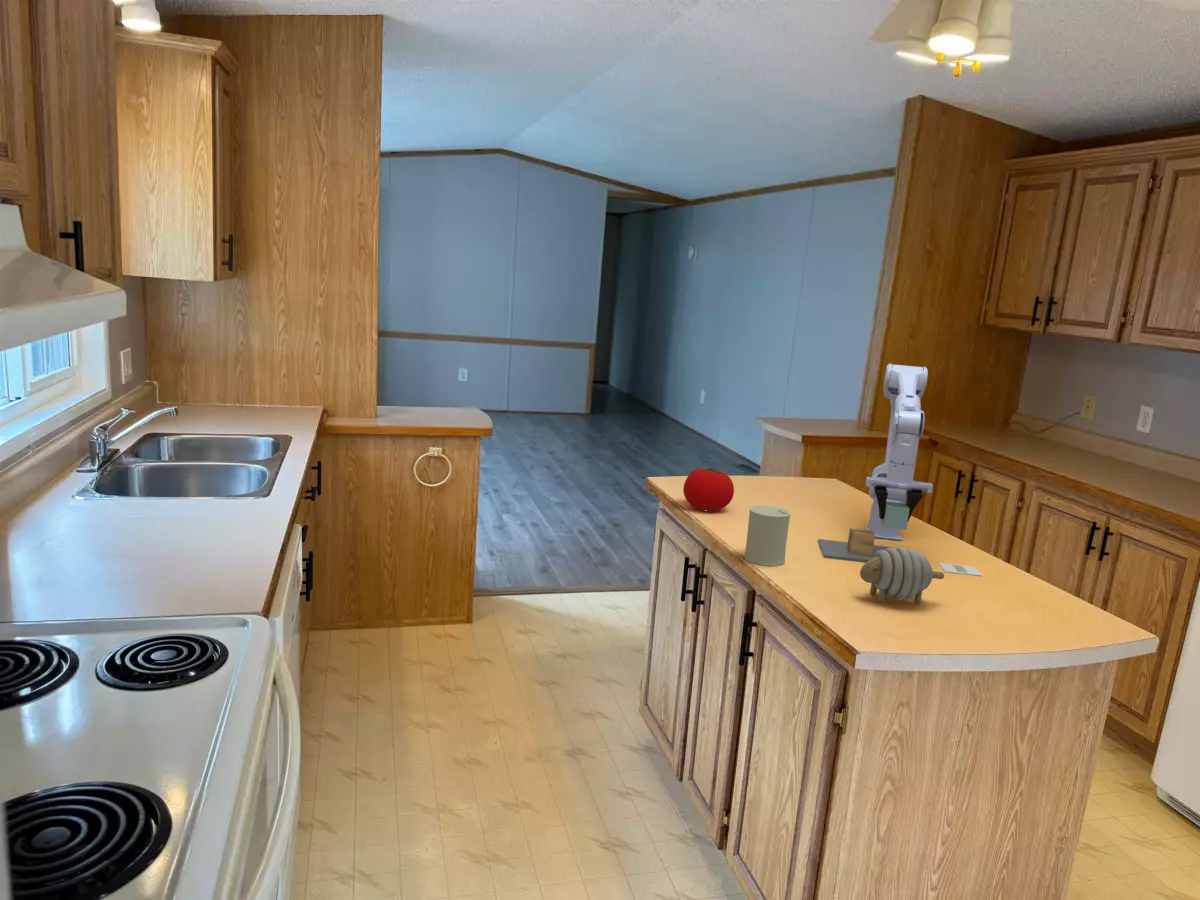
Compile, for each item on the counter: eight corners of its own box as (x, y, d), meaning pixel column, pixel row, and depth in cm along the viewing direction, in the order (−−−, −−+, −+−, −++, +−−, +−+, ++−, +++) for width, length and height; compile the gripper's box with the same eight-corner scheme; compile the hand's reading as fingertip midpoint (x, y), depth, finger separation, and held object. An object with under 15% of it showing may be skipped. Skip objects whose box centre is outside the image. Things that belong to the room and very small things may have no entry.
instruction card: (938, 563, 196) (938, 562, 196) (974, 567, 195) (974, 566, 195) (945, 571, 190) (945, 570, 190) (981, 576, 189) (981, 575, 189)
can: (785, 568, 184) (791, 516, 182) (743, 563, 186) (749, 511, 183) (784, 556, 193) (790, 506, 190) (744, 550, 195) (750, 501, 192)
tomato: (673, 504, 232) (677, 463, 229) (714, 501, 238) (718, 462, 235) (697, 517, 220) (701, 474, 218) (740, 514, 226) (744, 472, 224)
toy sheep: (847, 589, 174) (854, 538, 172) (924, 591, 176) (932, 541, 174) (868, 609, 164) (876, 555, 161) (949, 611, 165) (958, 558, 163)
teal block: (879, 521, 197) (882, 501, 196) (901, 523, 196) (904, 503, 195) (884, 527, 192) (887, 506, 191) (906, 529, 191) (909, 508, 190)
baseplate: (817, 541, 206) (818, 538, 206) (892, 549, 204) (893, 547, 204) (823, 557, 194) (824, 555, 194) (903, 566, 191) (904, 564, 191)
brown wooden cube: (847, 546, 201) (850, 527, 200) (868, 549, 201) (871, 529, 200) (850, 553, 197) (853, 532, 196) (872, 555, 196) (875, 535, 195)
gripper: (872, 462, 188) (864, 520, 191) (939, 469, 186) (930, 527, 189) (867, 456, 195) (859, 512, 198) (931, 462, 193) (922, 519, 196)
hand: (893, 519), depth 194 cm, fingers closed on teal block, 5 cm apart
